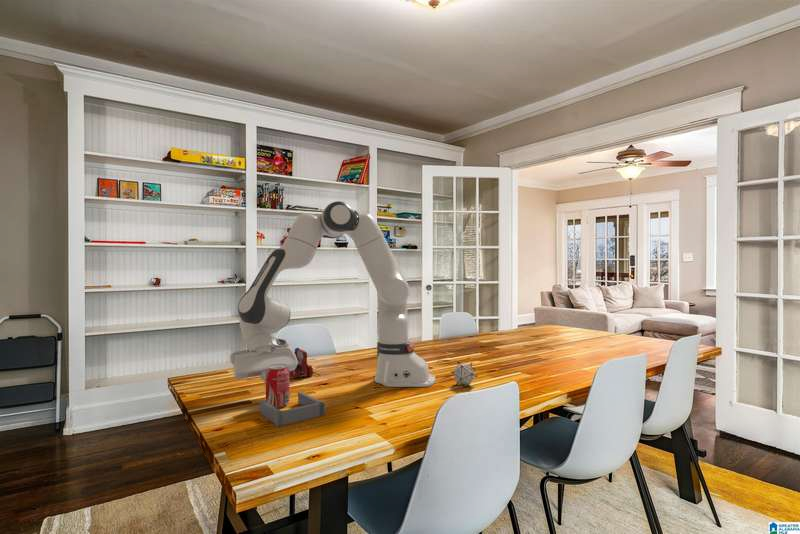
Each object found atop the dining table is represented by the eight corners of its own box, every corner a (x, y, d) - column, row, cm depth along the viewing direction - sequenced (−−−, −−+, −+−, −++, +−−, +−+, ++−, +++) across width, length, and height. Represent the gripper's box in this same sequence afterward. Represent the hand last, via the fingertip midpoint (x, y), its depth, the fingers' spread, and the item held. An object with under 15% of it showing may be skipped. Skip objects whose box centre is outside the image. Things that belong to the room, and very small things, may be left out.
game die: (468, 394, 155) (485, 372, 155) (462, 392, 147) (479, 368, 148) (449, 379, 159) (465, 357, 160) (442, 376, 152) (459, 353, 152)
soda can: (267, 401, 136) (267, 363, 136) (290, 400, 137) (290, 363, 137) (263, 409, 129) (263, 369, 129) (287, 408, 130) (287, 368, 130)
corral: (257, 412, 127) (257, 400, 127) (303, 402, 136) (303, 391, 136) (276, 426, 116) (276, 413, 116) (325, 414, 125) (325, 402, 125)
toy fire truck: (304, 370, 175) (303, 345, 175) (314, 377, 165) (314, 350, 165) (287, 373, 172) (286, 347, 172) (296, 380, 161) (296, 352, 161)
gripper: (230, 346, 136) (241, 385, 128) (292, 339, 148) (304, 374, 141) (226, 358, 139) (236, 396, 132) (287, 350, 152) (299, 384, 144)
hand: (272, 384), depth 136 cm, fingers closed
